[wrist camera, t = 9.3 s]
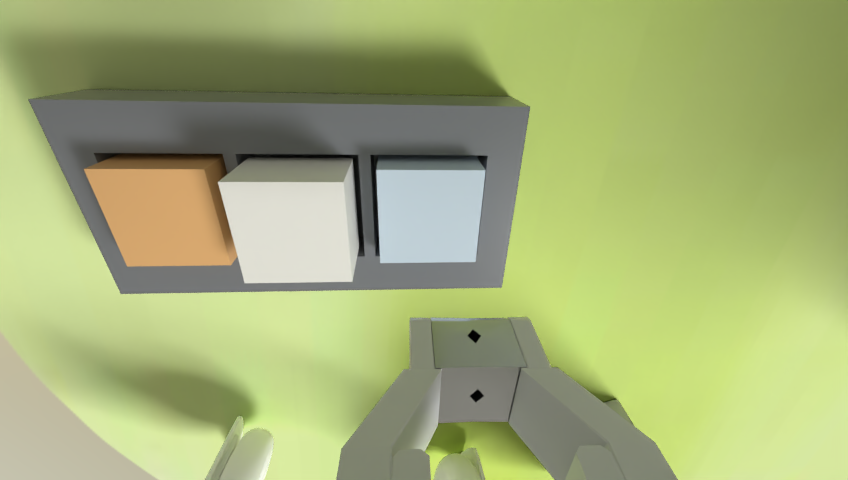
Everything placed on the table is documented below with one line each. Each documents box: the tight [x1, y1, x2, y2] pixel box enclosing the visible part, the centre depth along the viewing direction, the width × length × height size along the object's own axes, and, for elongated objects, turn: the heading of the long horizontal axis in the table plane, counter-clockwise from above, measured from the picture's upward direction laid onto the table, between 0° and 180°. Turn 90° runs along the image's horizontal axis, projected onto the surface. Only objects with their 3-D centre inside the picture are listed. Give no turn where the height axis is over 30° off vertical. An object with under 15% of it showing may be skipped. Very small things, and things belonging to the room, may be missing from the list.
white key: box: [218, 158, 359, 283], centre depth 15 cm, size 4×4×3 cm
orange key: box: [84, 153, 237, 267], centre depth 16 cm, size 4×4×3 cm
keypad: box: [28, 89, 530, 294], centre depth 18 cm, size 19×9×3 cm, turn 88°
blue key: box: [376, 155, 486, 263], centre depth 17 cm, size 4×4×3 cm
